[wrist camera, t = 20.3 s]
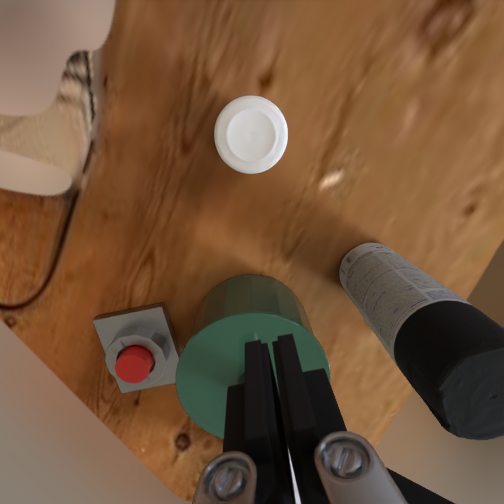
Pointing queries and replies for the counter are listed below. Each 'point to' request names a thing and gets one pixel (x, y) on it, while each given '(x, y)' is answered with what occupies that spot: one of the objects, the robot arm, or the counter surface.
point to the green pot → (250, 300)
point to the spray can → (432, 339)
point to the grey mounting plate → (140, 342)
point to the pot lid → (234, 361)
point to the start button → (134, 364)
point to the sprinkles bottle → (250, 134)
